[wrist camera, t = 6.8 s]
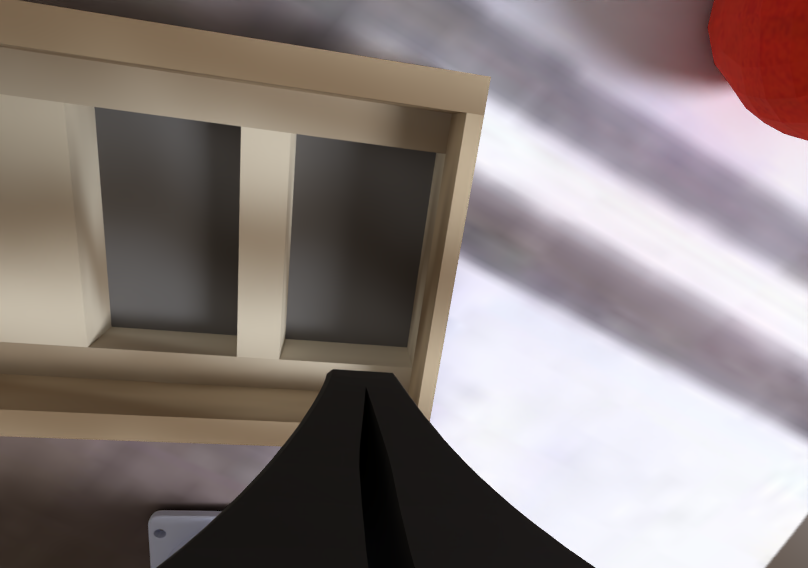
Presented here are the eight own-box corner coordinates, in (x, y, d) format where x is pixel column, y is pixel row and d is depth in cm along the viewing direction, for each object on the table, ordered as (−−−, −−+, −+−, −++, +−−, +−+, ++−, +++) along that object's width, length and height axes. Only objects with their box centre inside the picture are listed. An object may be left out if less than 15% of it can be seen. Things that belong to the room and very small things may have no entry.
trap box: (409, 395, 20) (423, 457, 17) (-232, 360, 17) (-398, 428, 13) (459, 79, 16) (492, 67, 13) (-376, -54, 13) (-680, -127, 9)
